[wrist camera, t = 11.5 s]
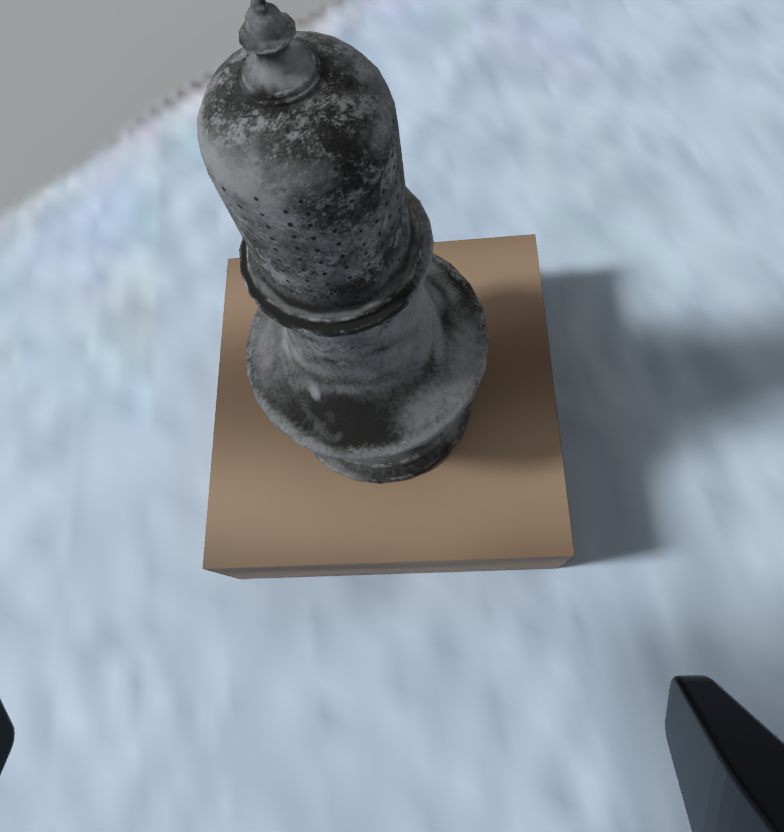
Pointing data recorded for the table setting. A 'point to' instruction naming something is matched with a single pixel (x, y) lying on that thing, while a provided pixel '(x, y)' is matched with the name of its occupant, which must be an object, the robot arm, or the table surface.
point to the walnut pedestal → (415, 497)
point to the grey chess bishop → (338, 257)
